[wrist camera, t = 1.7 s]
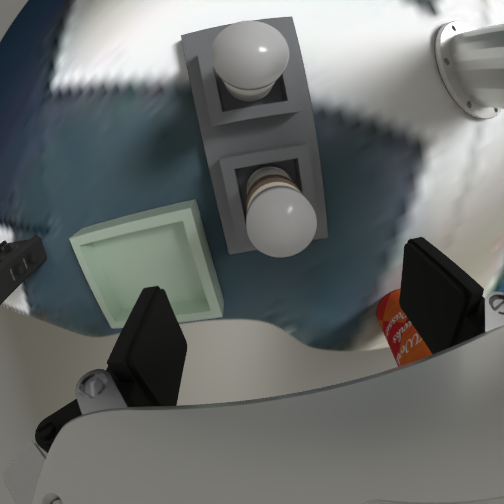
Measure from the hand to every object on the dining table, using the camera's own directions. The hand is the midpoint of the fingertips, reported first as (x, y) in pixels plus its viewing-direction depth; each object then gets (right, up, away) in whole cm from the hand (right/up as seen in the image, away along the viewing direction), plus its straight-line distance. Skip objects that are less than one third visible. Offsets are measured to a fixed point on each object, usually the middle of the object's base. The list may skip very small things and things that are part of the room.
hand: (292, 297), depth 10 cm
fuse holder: (-1, +12, +14) cm, 18 cm away
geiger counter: (-32, +2, +18) cm, 37 cm away
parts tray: (-13, 0, +19) cm, 23 cm away
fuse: (-2, +16, +11) cm, 20 cm away
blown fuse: (0, +8, +15) cm, 17 cm away
